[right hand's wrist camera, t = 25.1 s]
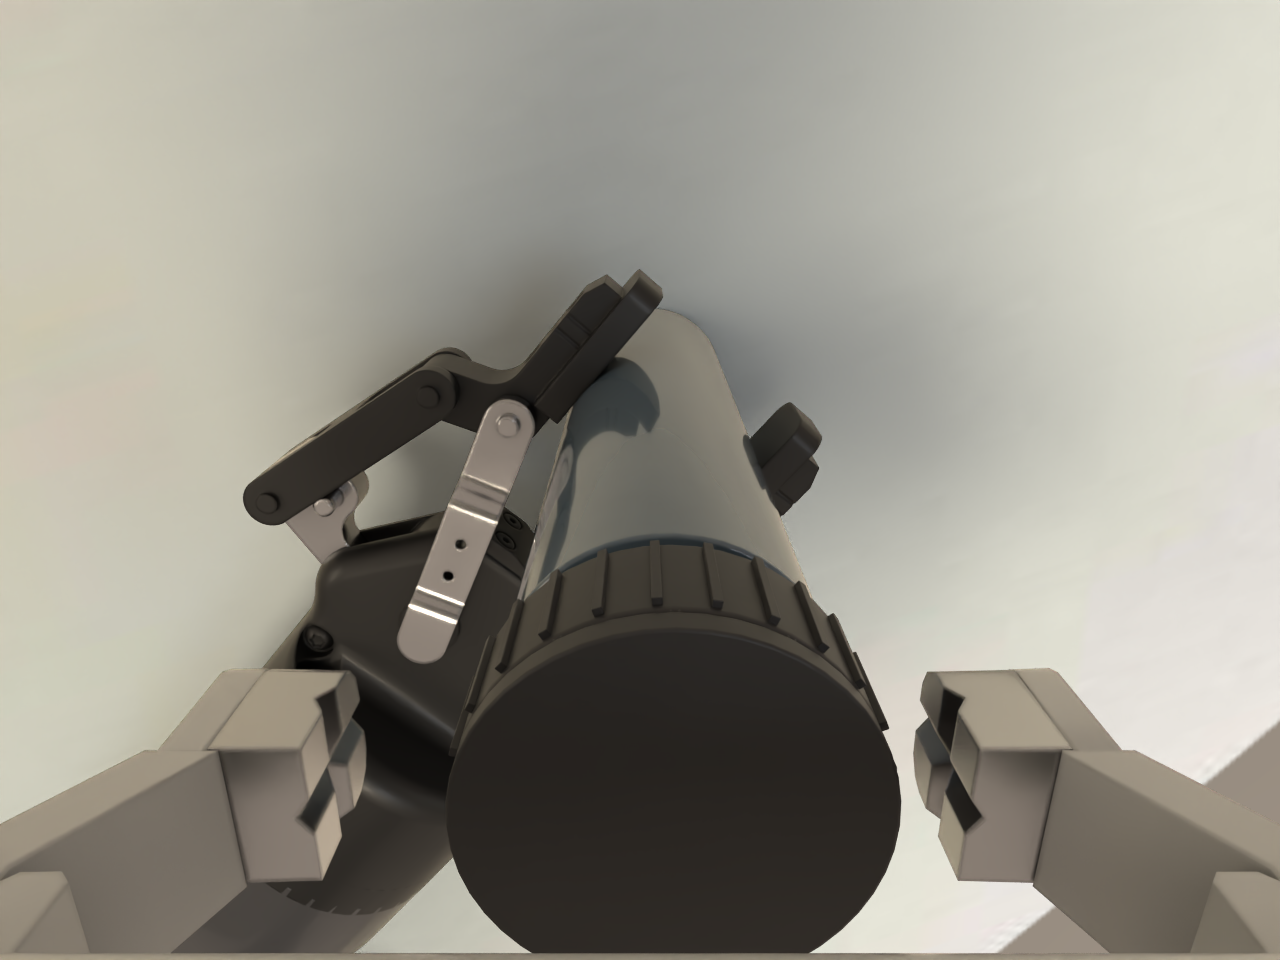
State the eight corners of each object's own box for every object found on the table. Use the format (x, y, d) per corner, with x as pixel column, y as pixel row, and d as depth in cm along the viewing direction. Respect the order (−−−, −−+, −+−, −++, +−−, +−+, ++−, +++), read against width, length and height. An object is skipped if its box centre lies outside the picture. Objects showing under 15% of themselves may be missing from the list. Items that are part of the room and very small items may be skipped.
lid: (539, 894, 11) (519, 1032, 10) (415, 590, 10) (366, 687, 8) (891, 822, 11) (939, 951, 9) (822, 490, 9) (866, 569, 8)
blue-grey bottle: (692, 459, 27) (782, 956, 10) (564, 420, 27) (435, 873, 10) (738, 333, 26) (932, 667, 9) (604, 288, 25) (533, 552, 8)
